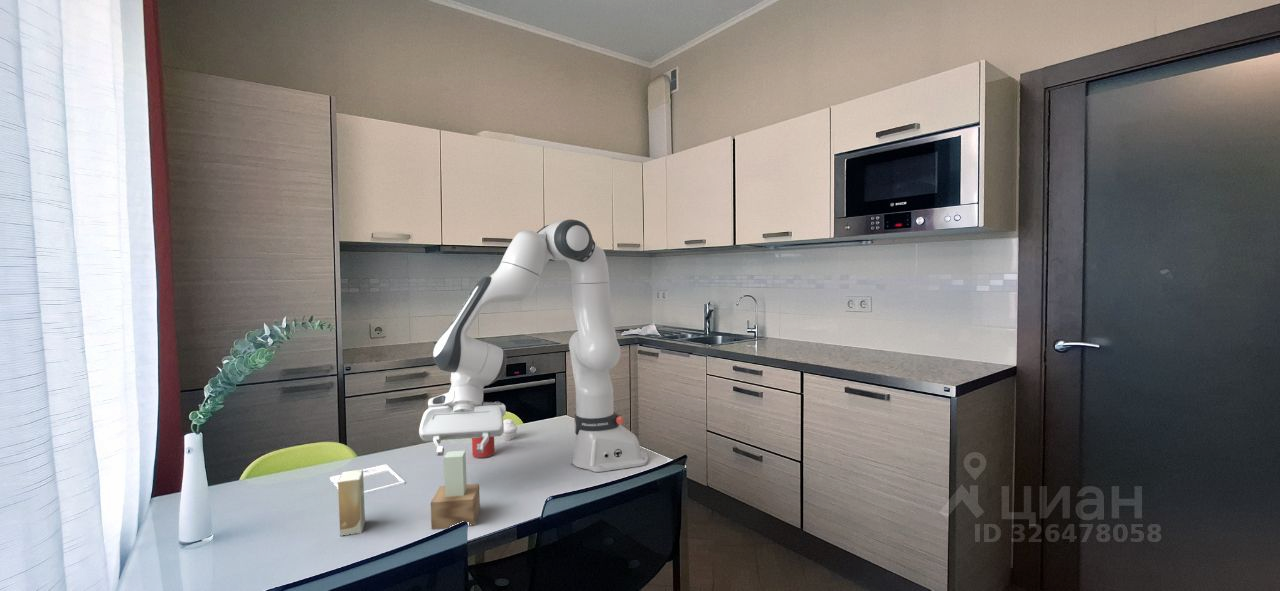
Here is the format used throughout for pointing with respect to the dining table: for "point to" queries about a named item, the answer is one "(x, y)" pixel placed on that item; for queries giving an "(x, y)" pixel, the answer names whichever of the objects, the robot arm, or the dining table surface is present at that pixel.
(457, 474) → the sage pillar
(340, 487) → the skincare box
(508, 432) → the muffin
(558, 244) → the robot arm
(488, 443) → the beer can
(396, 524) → the dining table surface
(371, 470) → the photo frame
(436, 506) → the walnut block
